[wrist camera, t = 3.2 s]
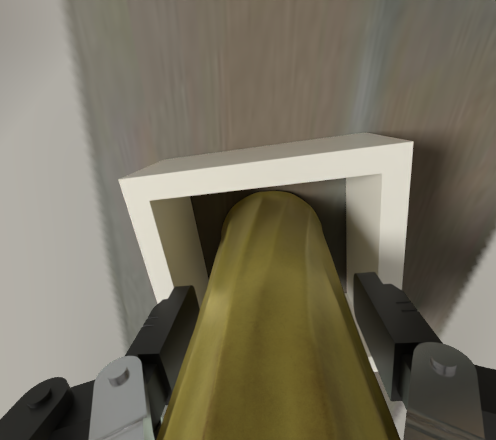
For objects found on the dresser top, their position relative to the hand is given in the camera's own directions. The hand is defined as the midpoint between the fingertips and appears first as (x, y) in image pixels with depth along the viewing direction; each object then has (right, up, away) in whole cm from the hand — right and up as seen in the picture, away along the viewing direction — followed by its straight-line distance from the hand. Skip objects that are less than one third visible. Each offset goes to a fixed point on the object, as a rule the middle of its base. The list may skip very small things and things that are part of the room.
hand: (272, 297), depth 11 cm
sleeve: (0, +2, +5) cm, 6 cm away
